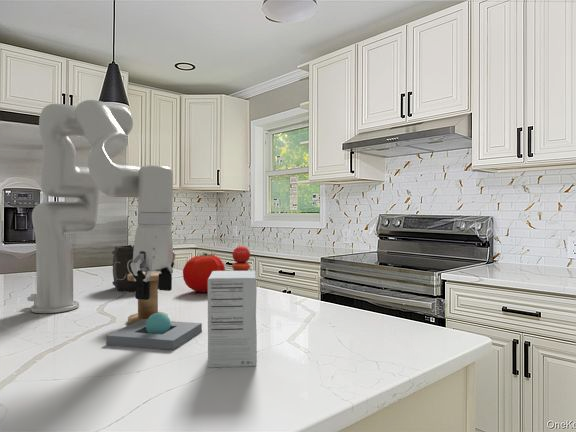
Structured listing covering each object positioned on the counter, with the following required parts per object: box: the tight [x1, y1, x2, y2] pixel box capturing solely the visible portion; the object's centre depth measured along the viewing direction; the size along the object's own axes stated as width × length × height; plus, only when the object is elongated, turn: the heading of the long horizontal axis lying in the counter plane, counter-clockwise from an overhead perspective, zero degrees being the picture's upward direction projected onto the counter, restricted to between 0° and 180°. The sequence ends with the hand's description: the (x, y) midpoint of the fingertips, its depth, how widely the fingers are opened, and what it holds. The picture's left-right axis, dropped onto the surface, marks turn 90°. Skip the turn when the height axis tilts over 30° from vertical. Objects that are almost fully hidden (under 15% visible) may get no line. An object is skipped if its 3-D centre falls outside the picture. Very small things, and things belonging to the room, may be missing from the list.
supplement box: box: [207, 270, 258, 368], centre depth 85 cm, size 10×9×17 cm
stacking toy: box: [231, 245, 251, 271], centre depth 125 cm, size 8×8×19 cm
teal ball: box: [146, 312, 171, 334], centre depth 99 cm, size 6×6×6 cm
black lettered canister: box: [111, 244, 160, 293], centre depth 161 cm, size 18×18×16 cm
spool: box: [127, 271, 169, 325], centre depth 114 cm, size 10×10×12 cm
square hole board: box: [105, 319, 203, 351], centre depth 99 cm, size 16×14×2 cm
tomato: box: [182, 252, 226, 293], centre depth 153 cm, size 16×14×14 cm
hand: (154, 294), depth 99 cm, fingers open, 9 cm apart
